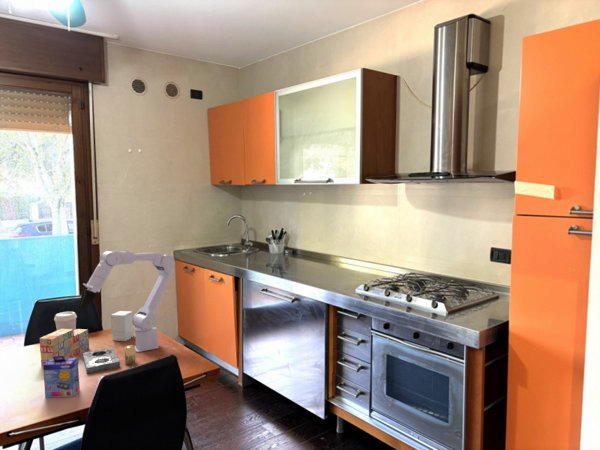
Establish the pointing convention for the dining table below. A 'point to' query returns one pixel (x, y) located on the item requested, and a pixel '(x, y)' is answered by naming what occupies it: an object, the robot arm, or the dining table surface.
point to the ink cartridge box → (61, 377)
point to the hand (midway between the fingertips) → (81, 308)
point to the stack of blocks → (63, 344)
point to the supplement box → (122, 325)
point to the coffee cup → (65, 320)
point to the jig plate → (100, 360)
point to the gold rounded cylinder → (130, 355)
